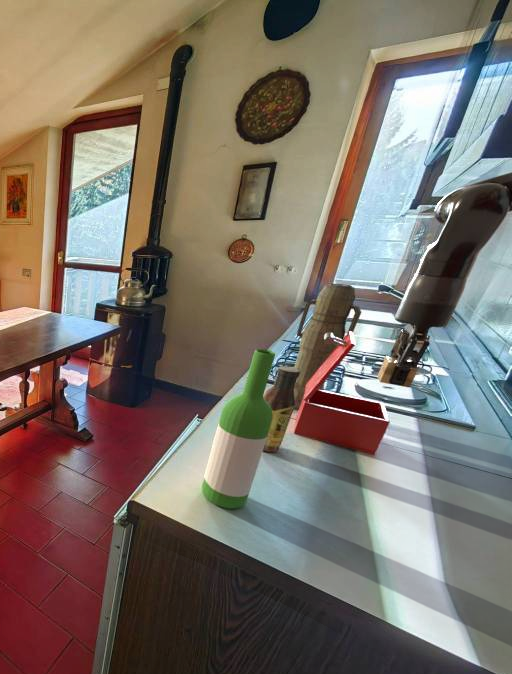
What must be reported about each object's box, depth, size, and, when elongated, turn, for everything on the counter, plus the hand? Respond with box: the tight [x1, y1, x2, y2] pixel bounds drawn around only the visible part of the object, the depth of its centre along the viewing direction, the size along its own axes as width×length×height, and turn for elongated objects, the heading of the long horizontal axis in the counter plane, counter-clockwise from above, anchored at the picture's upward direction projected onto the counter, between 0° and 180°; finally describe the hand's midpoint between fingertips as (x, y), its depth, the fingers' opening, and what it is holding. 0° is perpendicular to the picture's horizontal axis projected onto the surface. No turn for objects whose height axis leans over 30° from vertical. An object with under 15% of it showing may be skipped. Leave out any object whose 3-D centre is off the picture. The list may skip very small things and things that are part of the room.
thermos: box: [293, 283, 362, 411], centre depth 108 cm, size 9×12×35 cm
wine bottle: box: [201, 348, 276, 510], centre depth 70 cm, size 8×8×30 cm
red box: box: [293, 390, 391, 456], centre depth 98 cm, size 16×13×9 cm
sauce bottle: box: [263, 365, 300, 453], centre depth 90 cm, size 7×6×20 cm
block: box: [377, 355, 420, 388], centre depth 81 cm, size 5×5×5 cm
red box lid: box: [304, 332, 356, 401], centre depth 97 cm, size 16×13×5 cm
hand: (393, 380), depth 82 cm, fingers closed on block, 4 cm apart
